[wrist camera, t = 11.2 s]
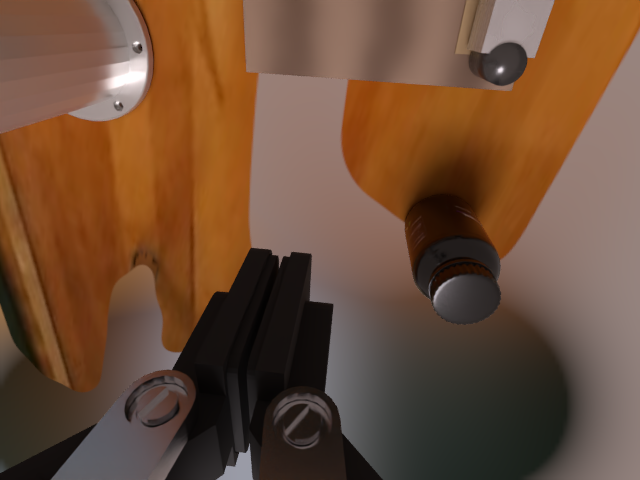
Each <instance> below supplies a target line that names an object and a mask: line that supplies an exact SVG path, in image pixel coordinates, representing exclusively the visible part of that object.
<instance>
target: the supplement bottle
mask: <svg viewBox="0 0 640 480" xmlns="http://www.w3.org/2000/svg"><path fill="white" fill-rule="evenodd" d="M405 236H406V242H407V248H408V253H409V258H410V264H411V269H412V275H413V279H414V282H415V284H416V286H417V288H418V289H419V290H420V292H421V293H422V294H423V295H425V296H426V297H427V298H429V299H430V300H431V302H432V306H433V308H434V310H435V311H436V312H437V314H438V315H439V316H441V318H442V319H445V320H446V321H448V322H451V323H456V324H464V325H465V324H472V323H477V322H479V321H482V320H484V319H485V318H488V317H489V316H490V315H491V314H493V313H494V311H495V310H496V309H497V307H498V305H499V304H500V300H501V296H500V295H501V292H500V288H499V286H498V284H497V280H498V278H499V274H500V267H501V265H500V258H499V256H498V253H497V251H496V249H495V247H494V246H493V244H492V242H491V240H490V239H489V237H488V235H487V233H486V232H485V230H484V228H483V227H482V225H481V223H480V221H479V220H478V218H477V216H476V214H475V213H474V211H473V210H472V208H471V207H470V206H469V205H468V204H467V203H466V202H465V201H464V200H462V199H460V198H458V197H455V196H452V195H434V196H431V197H428V198H425V199H424V200H422V201H420V202H419V203H417V204H416V205H415V206H414V207H413V208H412V209H411V211H410V212H409V214H408V216H407V218H406V222H405Z"/></svg>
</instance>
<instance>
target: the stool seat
mask: <svg viewBox="0 0 640 480" xmlns="http://www.w3.org/2000/svg"><path fill="white" fill-rule="evenodd" d="M478 3H479V0H243V10H244V31H245V53H246V72H255V73H270V74H283V75H297V76H311V77H325V78H339V79H352V80H366V81H380V82H394V83H408V84H422V85H436V86H449V87H463V88H477V89H491V90H505V91H512V87H513V84H514V82H513V83H511V84H509V85H505V86H497V85H494V84H492V83H490V82H488V81H486V80H484V79H481V78H479V77H477V76H475V75H474V74H473V73H472V72H471V70H470V67H469V58H470V55H471V53H472V50H468V49H467V46H468V42H469V38H470V34H471V30H472V27H473V23H474V19H475V15H476V11H477V7H478Z"/></svg>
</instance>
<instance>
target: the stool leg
mask: <svg viewBox="0 0 640 480" xmlns="http://www.w3.org/2000/svg"><path fill="white" fill-rule="evenodd" d="M553 3H554V0H479V3H478V7H477V11H476V15H475V19H474V23H473V27H472V30H471V34H470V38H469V42H468V46H467V49H468V50H472V53H471V55H470V58H469V67H470V70H471V72H472V73H473V74H474V75H475V76H477V77H479V78H481V79H484V80H486V81H488V82H490V83H492V84H494V85H497V86H505V85H509V84H511V83H513V82H515V81H516V80H517V79H518V78H519V77H520V76H521V75H522V74H523V72H524V70H525V68H526V65H527V57H529V58H535V55H536V52H537V49H538V46H539V44H540V41H541V38H542V35H543V32H544V29H545V26H546V23H547V21H548V18H549V15H550V12H551V9H552V6H553Z"/></svg>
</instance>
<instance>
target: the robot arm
mask: <svg viewBox="0 0 640 480" xmlns="http://www.w3.org/2000/svg"><path fill="white" fill-rule="evenodd" d="M141 45H142V48H143V50H142V49H141V47H140V46H141ZM152 75H153V52H152V44H151V40H150V37H149V33H148V29H147V26H146V24H145V22H144V20H143V17H142V15H141V13H140V11H139V9H138V7H137V6H136V4H135V3H134V1H133V0H0V134H1V133H4V132H7V131H11V130H14V129H17V128H20V127H24V126H27V125H30V124H33V123H37V122H40V121H43V120H46V119H50V118H53V117H56V116H59V115H63V114H66V113H67V114H69V115H72V116H75V117H78V118H80V119H85V120H90V121H108V120H112V119H116V118H119V117H121V116H124V115H126V114H128V113H129V112H131V111H132V110H134V109H135V108H136V107H137V106H138V105H139V104H140V103H141V102H142V100H143V99H144V98H145V96H146V94H147V92H148V90H149V87H150V84H151V79H152ZM311 258H312V255H311V254H307V253H297V252H292V253H291V255H290V257H286V256H284V257H283V259H282V262H281V265H280V268H279V258H278V256H276V255H272V251H271V250H268V249H257V248H251V249H250V250H249V252H248V254H247V256H246V258H245V260H244V262H243V264H242V266H241V268H240V270H239V273H238V275H237V277H236V279H235V281H234V283H233V285H232V287H231V289H230V291H229V293H228V292H219V291H217V292H216V293H214V295H213V296H212V298H211V300H210V301H209V303H208V305H207V307H206V309H205V311H204V312H203V314H202V316H201V318H200V320H199V322H198V323H197V325H196V327H195V329H194V331H193V333H192V334H191V336H190V338H189V340H188V342H187V343H186V345H185V347H184V349H183V351H182V353H181V354H180V356H179V358H178V360H177V362H176V364H175V366H174V367H173V369H172V370H161V371H155V372H153V373H150V374H147V375H144V376H143V377H141V378H140V379H138V380H136V381H135V382H133V383H132V384H131V385H130V386H129V387H128V388H127V389H126V390H125V391H124V392H123V393H122V395H121V396H120V397H119V398H118V399H117V401H116V402H115V403H114V404H113V405H112V407H111V408H110V409H109V410H108V411H107V413H106V414H105V415H104V416H103V418H102V419H101V420H100V421H99V422H98V423H97V424H95V425H93V426H91V427H89V428H87V429H85V430H83V431H81V432H79V433H78V434H76V435H73V436H72V437H70V438H68V439H66V440H64V441H62V442H60V443H58V444H56V445H54V446H52V447H50V448H48V449H46V450H44V451H42V452H40V453H39V454H37V455H35V456H33V457H31V458H29V459H27V460H25V461H23V462H21V463H19V464H17V465H15V466H13V467H11V468H9V469H7V470H6V471H4V472H2V473H0V480H216V479H217V478H219V477H220V476H222V475H223V474H224V471H225V468H226V465H227V466H235V465H236V461H237V458H238V454H239V452H243V453H246V452H247V450H248V447H249V443H250V451H251V464H252V475H253V480H383V479H382V478H381V477H380V476H379V475H378V474H377V473H376V471H375V470H374V469H373V468H372V467H371V466H370V465H369V463H368V462H367V461H366V460H365V459H364V458H363V456H362V455H361V454H360V453H359V452H358V451H357V450H356V448H355V447H354V446H353V445H352V444H351V443H350V442H349V440H348V439H347V438H346V437H345V436H344V435H343V434H342V430H341V420H340V415H339V412H338V408H337V406H336V405H335V403H334V402H333V400H332V399H331V398H330V397H329V396H328V395H327V394H325V385H326V374H327V365H328V355H329V344H330V335H331V324H332V314H333V304H329V303H321V302H312V301H309V300H310V299H309V298H310V279H311V260H312V259H311Z"/></svg>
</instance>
